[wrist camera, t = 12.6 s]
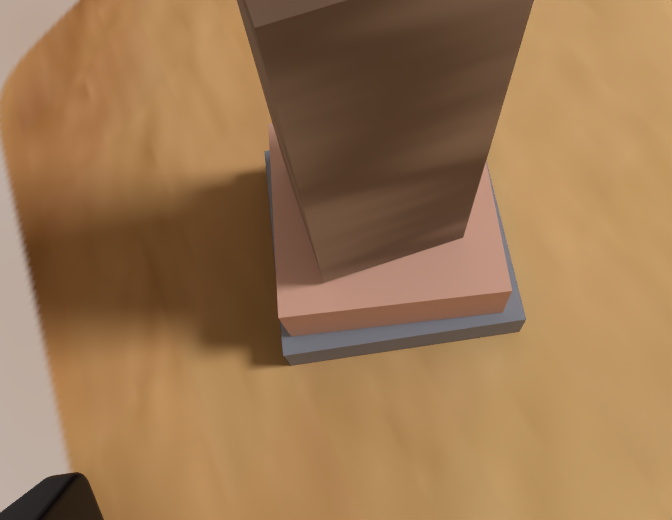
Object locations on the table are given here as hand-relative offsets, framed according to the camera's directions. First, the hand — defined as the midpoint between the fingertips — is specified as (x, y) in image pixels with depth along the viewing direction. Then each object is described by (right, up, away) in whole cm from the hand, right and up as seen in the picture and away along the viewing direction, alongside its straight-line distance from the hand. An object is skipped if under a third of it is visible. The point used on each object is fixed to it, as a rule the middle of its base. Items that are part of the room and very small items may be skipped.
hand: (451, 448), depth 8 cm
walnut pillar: (0, +4, +13) cm, 13 cm away
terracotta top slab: (0, +3, +15) cm, 15 cm away
